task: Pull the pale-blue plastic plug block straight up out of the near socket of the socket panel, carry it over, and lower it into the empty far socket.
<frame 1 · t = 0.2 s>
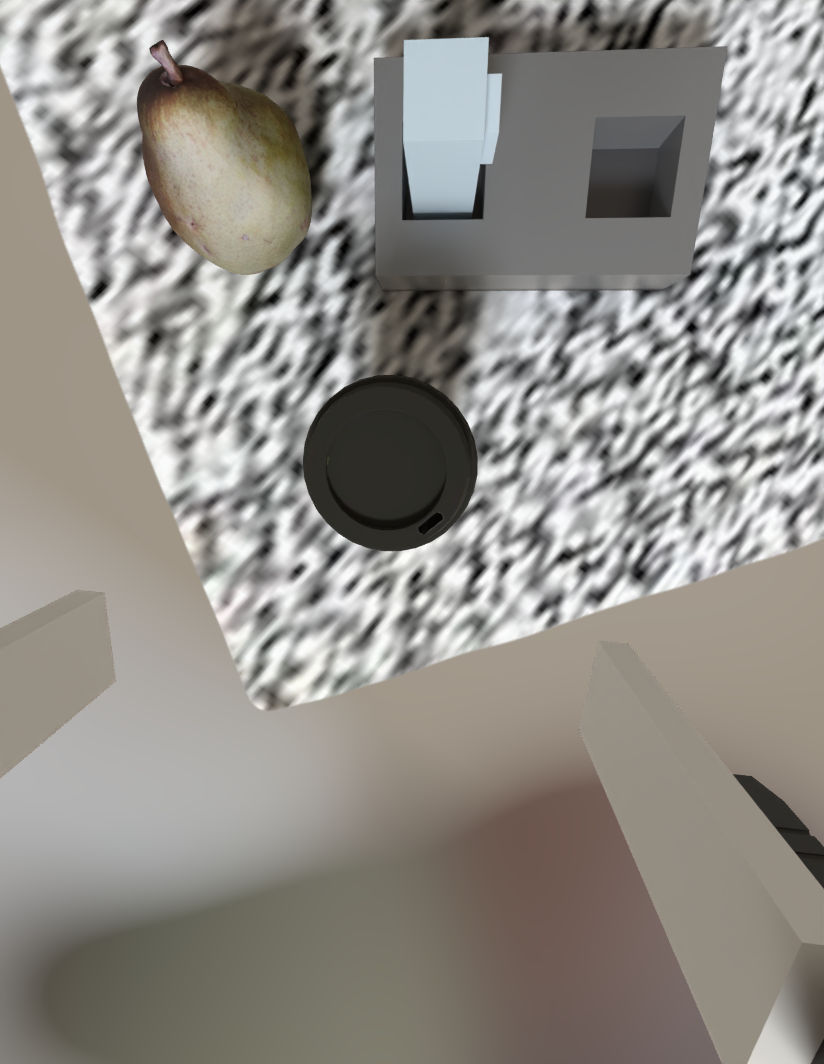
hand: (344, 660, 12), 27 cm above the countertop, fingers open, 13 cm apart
socket panel: (525, 198, 32), on the countertop
coffee cup: (407, 447, 37), on the countertop
plug: (443, 196, 32), resting on socket panel
fruit: (266, 219, 34), on the countertop
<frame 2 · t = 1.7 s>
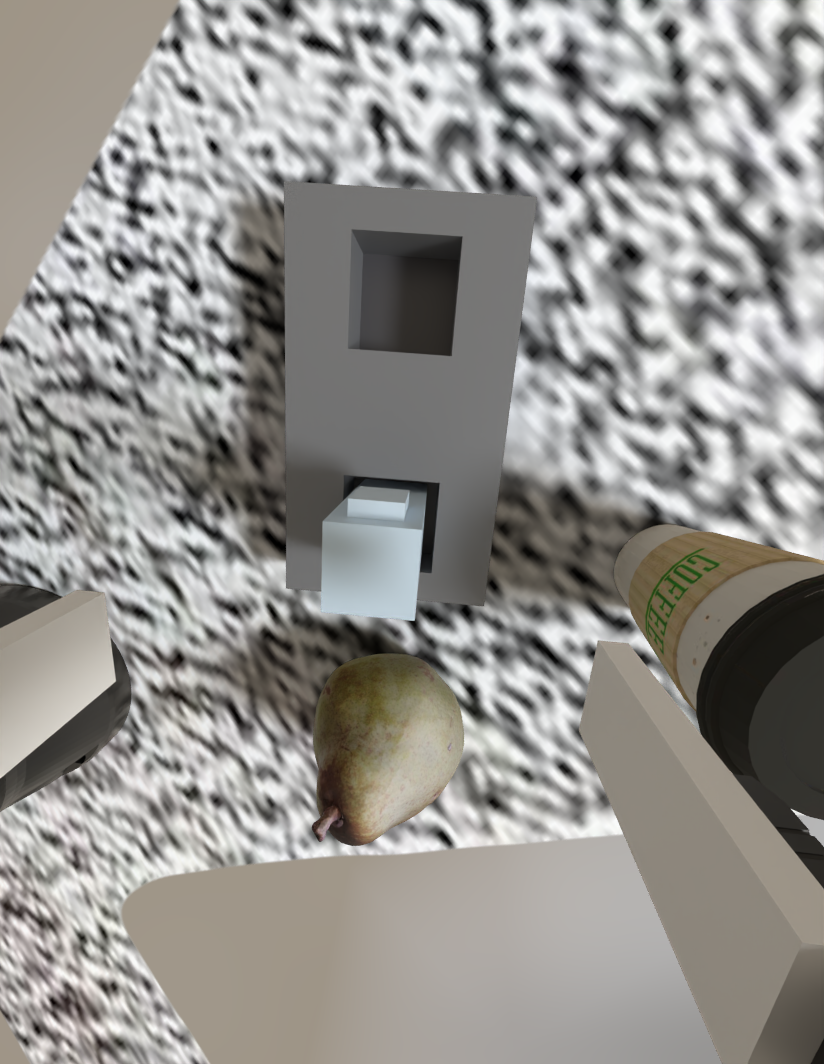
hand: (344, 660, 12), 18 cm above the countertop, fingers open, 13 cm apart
socket panel: (401, 416, 27), on the countertop
coffee cup: (659, 568, 29), on the countertop
plug: (394, 511, 29), resting on socket panel
fruit: (397, 684, 33), on the countertop
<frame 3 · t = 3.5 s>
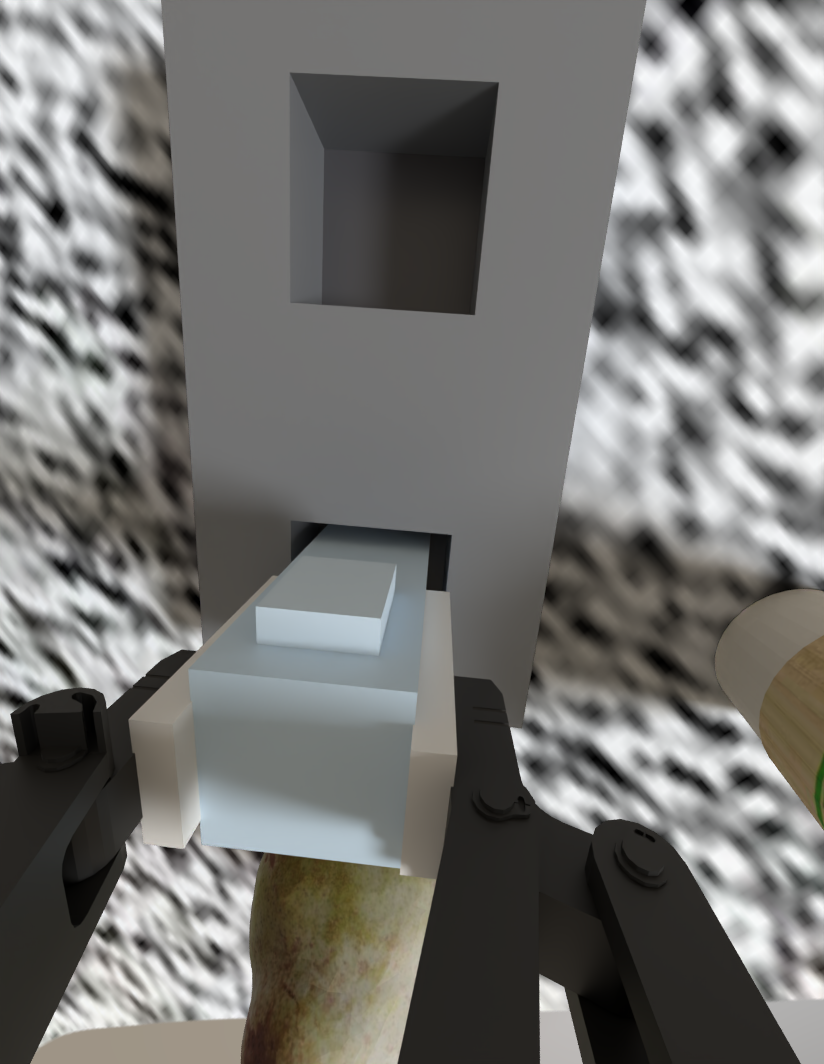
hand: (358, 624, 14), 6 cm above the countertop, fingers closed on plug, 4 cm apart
socket panel: (390, 421, 17), on the countertop
coffee cup: (785, 652, 19), on the countertop
plug: (380, 567, 19), resting on socket panel, touching gripper
fruit: (387, 804, 23), on the countertop
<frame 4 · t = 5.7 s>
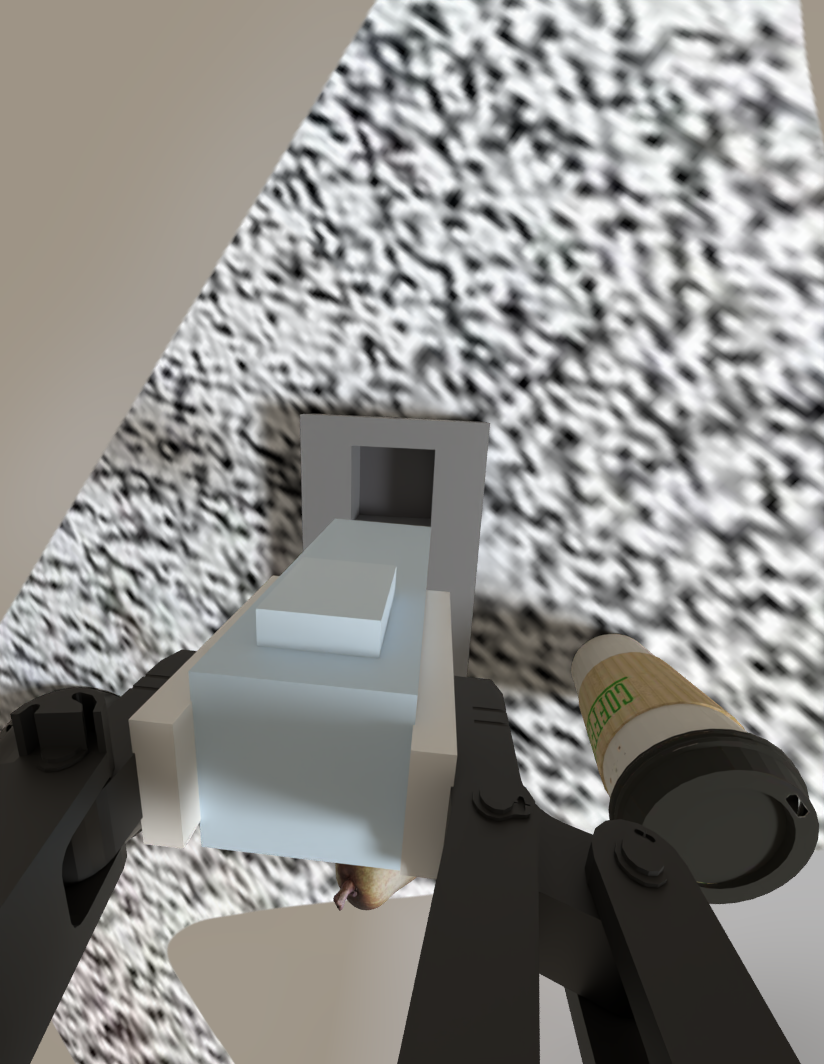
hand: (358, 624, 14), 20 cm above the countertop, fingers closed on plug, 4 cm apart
socket panel: (394, 556, 34), on the countertop
coffee cup: (608, 666, 36), on the countertop
plug: (380, 568, 19), point 15 cm above the countertop, touching gripper
fruit: (397, 760, 40), on the countertop
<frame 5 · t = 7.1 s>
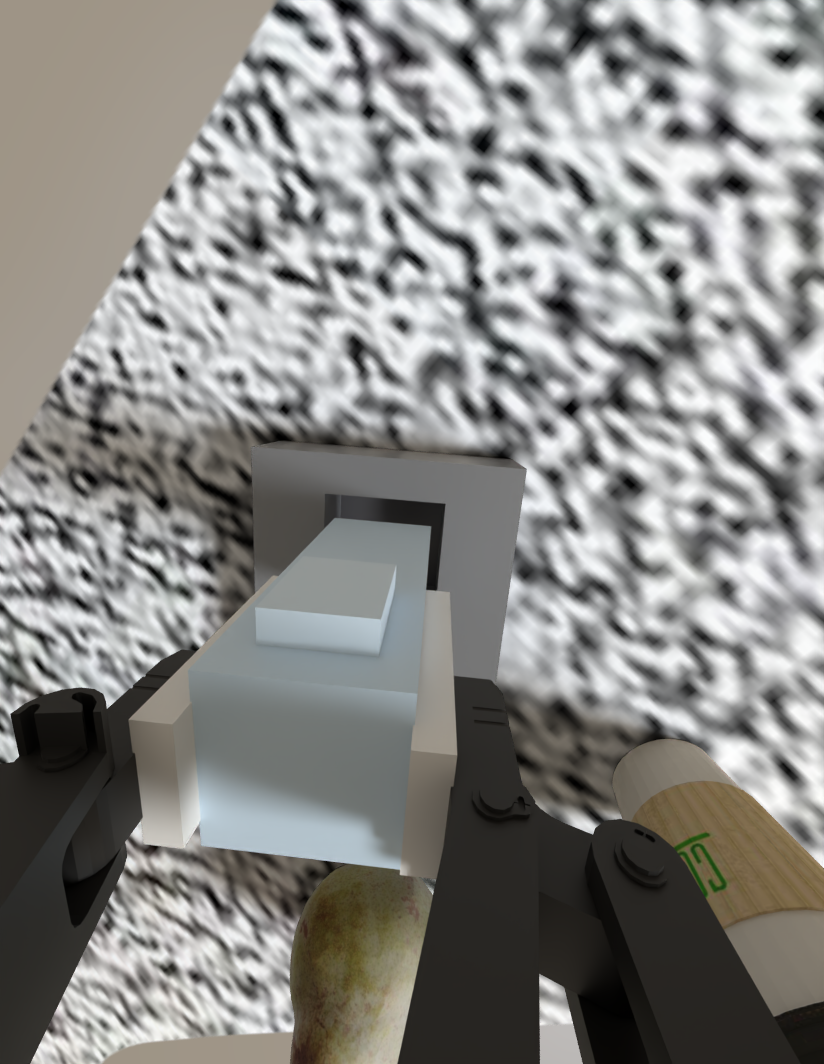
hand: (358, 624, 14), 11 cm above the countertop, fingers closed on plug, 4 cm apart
socket panel: (384, 630, 26), on the countertop
coffee cup: (661, 777, 28), on the countertop
plug: (380, 567, 19), point 6 cm above the countertop, touching gripper
fruit: (383, 876, 31), on the countertop
when the fingers open (7 cm above the countertop, at t = 8.1 s): plug stays where it is, resting on socket panel.
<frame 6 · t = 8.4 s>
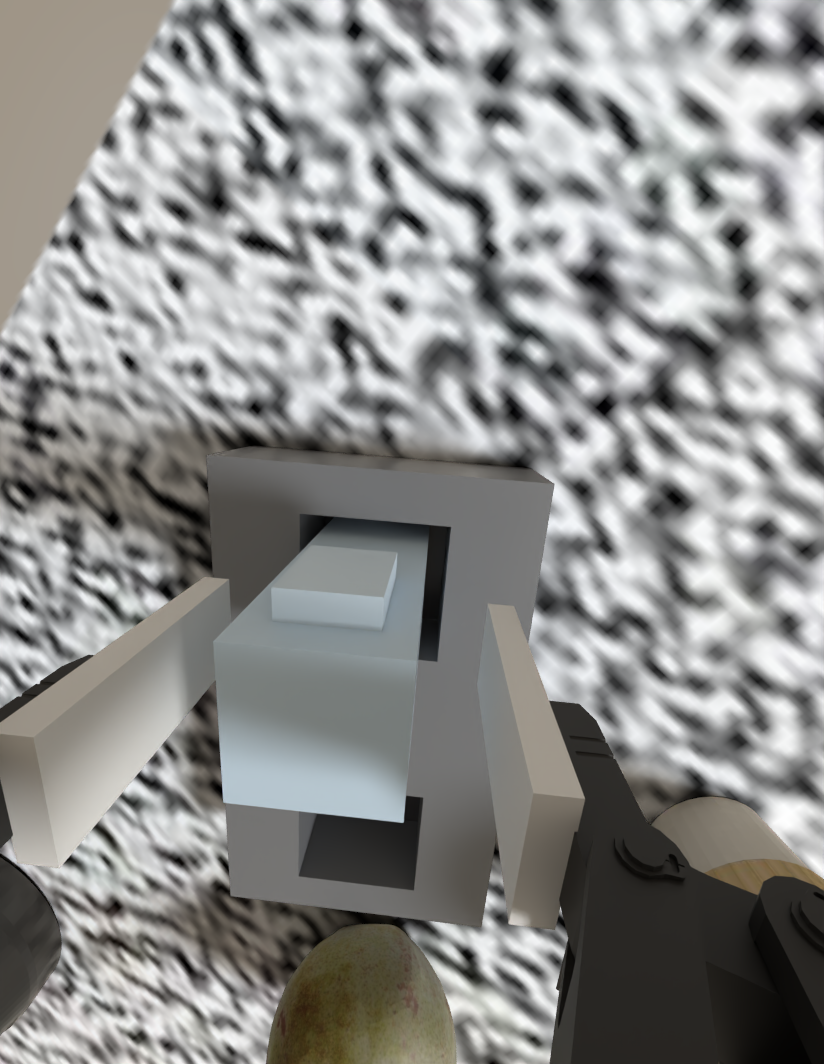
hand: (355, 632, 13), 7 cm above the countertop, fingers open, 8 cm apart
socket panel: (377, 669, 22), on the countertop
coffee cup: (702, 839, 24), on the countertop
plug: (381, 559, 20), resting on socket panel
fruit: (377, 942, 27), on the countertop
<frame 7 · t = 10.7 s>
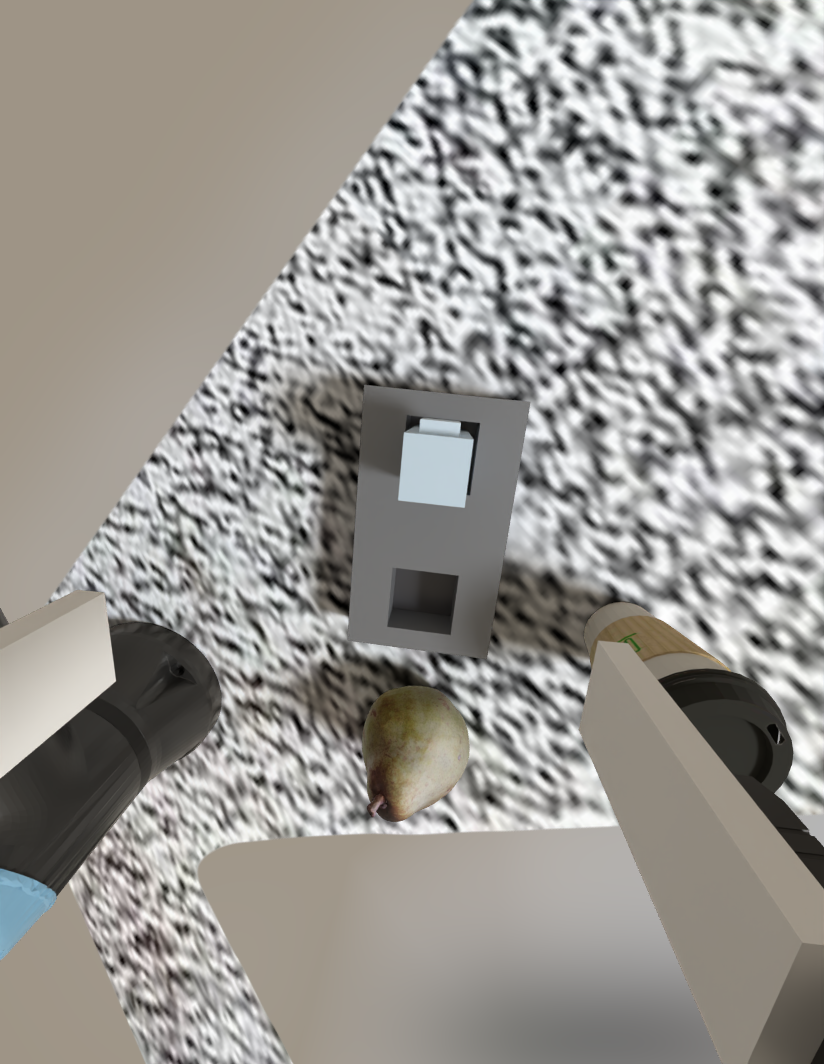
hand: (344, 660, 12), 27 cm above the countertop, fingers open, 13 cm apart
socket panel: (432, 519, 38), on the countertop
coffee cup: (618, 632, 40), on the countertop
plug: (439, 451, 36), resting on socket panel
fruit: (420, 707, 44), on the countertop
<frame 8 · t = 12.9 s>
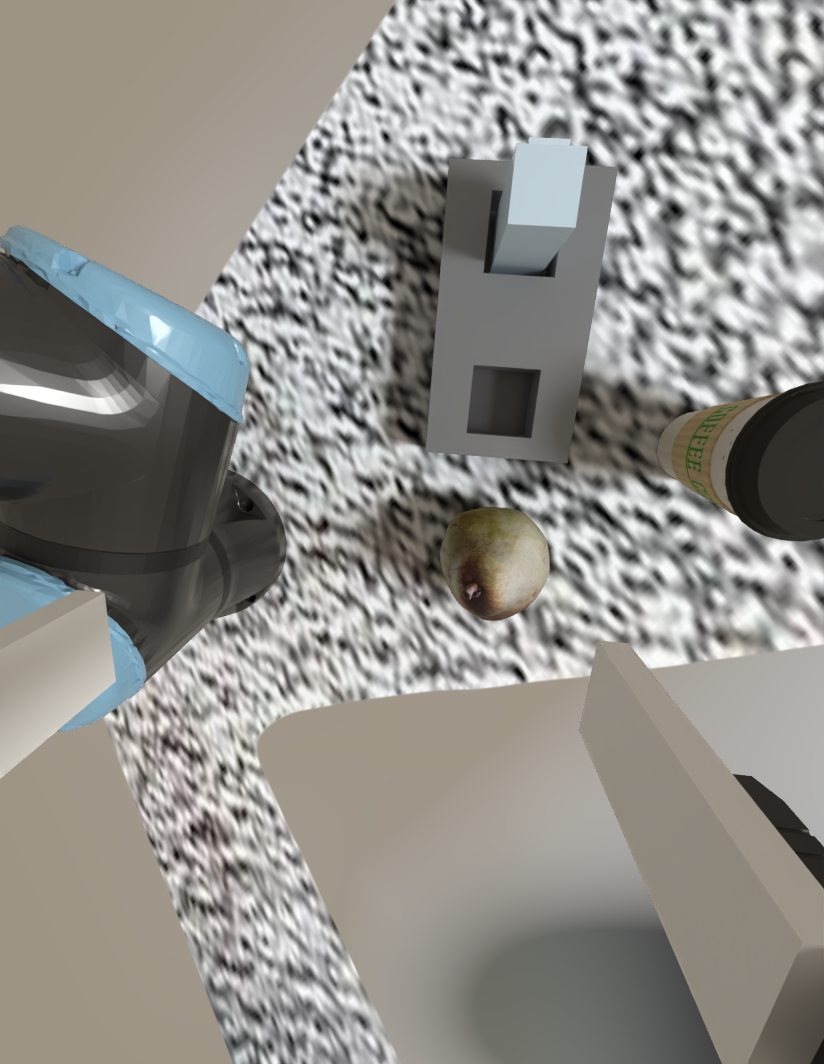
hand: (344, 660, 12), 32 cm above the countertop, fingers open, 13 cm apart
socket panel: (505, 331, 38), on the countertop
coffee cup: (691, 446, 40), on the countertop
plug: (515, 251, 36), resting on socket panel
fruit: (489, 544, 44), on the countertop
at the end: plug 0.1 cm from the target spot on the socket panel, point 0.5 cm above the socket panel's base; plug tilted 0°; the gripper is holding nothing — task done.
